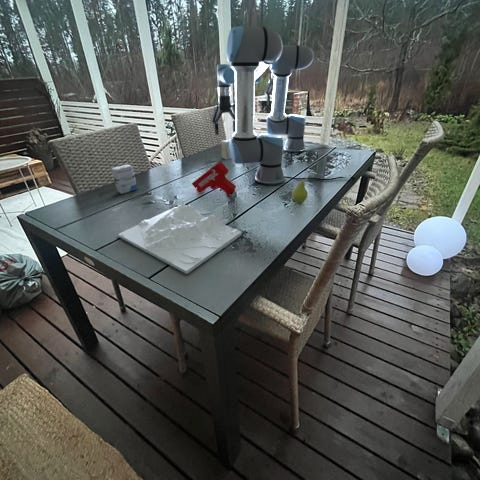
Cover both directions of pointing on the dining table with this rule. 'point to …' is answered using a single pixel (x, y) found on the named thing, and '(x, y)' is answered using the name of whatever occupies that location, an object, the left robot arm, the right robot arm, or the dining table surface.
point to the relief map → (181, 237)
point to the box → (226, 150)
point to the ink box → (124, 178)
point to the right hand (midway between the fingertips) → (274, 104)
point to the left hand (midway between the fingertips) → (226, 133)
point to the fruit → (300, 192)
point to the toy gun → (215, 180)
